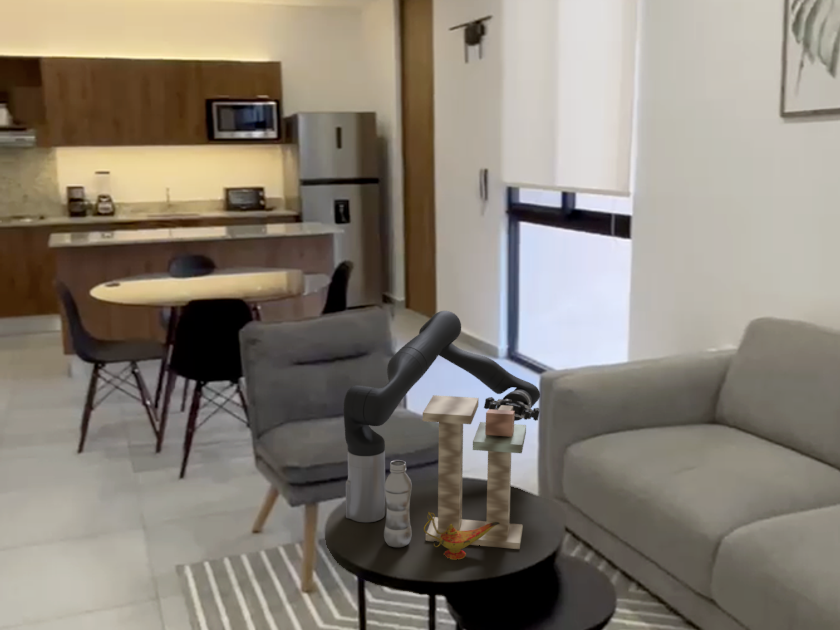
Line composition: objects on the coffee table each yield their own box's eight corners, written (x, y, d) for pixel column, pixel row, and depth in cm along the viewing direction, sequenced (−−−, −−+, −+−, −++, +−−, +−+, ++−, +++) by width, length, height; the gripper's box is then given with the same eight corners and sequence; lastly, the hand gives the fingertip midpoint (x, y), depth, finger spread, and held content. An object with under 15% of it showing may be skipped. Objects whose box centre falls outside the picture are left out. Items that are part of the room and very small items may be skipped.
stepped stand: (421, 544, 198) (422, 412, 192) (432, 518, 212) (433, 395, 206) (518, 553, 194) (522, 419, 188) (523, 526, 208) (526, 400, 201)
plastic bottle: (379, 548, 196) (378, 466, 193) (391, 535, 203) (391, 456, 199) (404, 553, 194) (405, 470, 190) (416, 540, 200) (416, 460, 196)
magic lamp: (504, 556, 193) (505, 511, 190) (426, 564, 189) (427, 518, 187) (494, 543, 199) (496, 498, 197) (420, 550, 195) (420, 505, 193)
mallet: (485, 434, 193) (486, 412, 192) (494, 420, 214) (495, 400, 214) (511, 436, 191) (512, 414, 191) (518, 422, 213) (519, 402, 213)
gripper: (539, 424, 229) (534, 432, 213) (487, 412, 232) (478, 419, 216) (545, 397, 229) (540, 403, 213) (493, 385, 232) (484, 390, 216)
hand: (509, 411), depth 215 cm, fingers open, 8 cm apart
